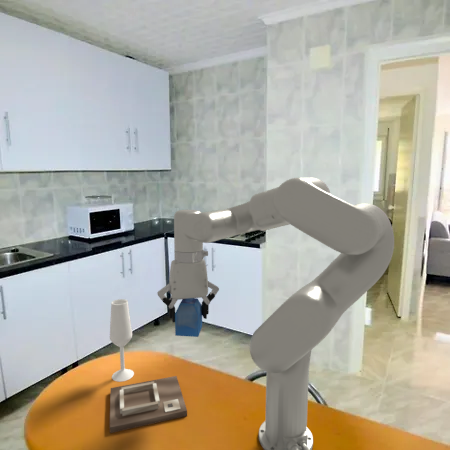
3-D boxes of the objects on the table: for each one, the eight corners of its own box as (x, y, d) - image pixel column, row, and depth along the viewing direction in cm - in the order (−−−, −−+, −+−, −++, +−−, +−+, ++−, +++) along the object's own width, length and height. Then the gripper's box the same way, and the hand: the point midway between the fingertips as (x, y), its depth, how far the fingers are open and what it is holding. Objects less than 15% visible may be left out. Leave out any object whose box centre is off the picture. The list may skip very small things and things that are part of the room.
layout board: (187, 415, 86) (187, 405, 86) (110, 433, 80) (109, 421, 80) (176, 380, 101) (176, 371, 101) (110, 392, 95) (110, 383, 95)
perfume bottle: (202, 326, 94) (202, 285, 92) (198, 336, 88) (198, 293, 86) (180, 325, 94) (180, 284, 93) (175, 335, 88) (174, 292, 87)
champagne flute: (137, 369, 107) (134, 298, 103) (128, 382, 100) (125, 306, 97) (117, 368, 108) (114, 297, 104) (107, 380, 101) (103, 305, 98)
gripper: (216, 251, 94) (216, 310, 97) (154, 254, 89) (155, 316, 92) (224, 257, 87) (223, 320, 90) (156, 261, 82) (157, 328, 85)
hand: (188, 318), depth 91 cm, fingers closed on perfume bottle, 8 cm apart
